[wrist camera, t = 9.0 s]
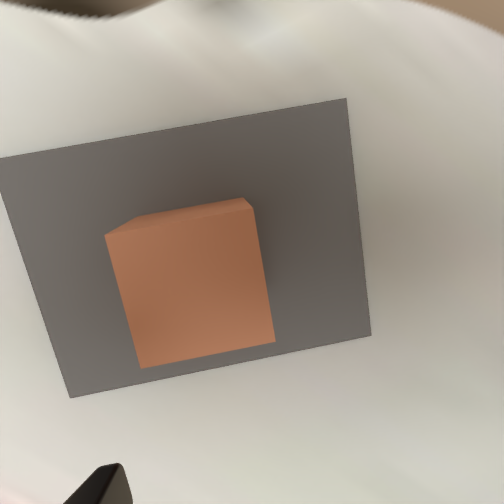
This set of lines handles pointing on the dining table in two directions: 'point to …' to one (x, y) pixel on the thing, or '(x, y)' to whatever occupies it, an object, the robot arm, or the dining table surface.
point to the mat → (187, 195)
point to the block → (192, 281)
